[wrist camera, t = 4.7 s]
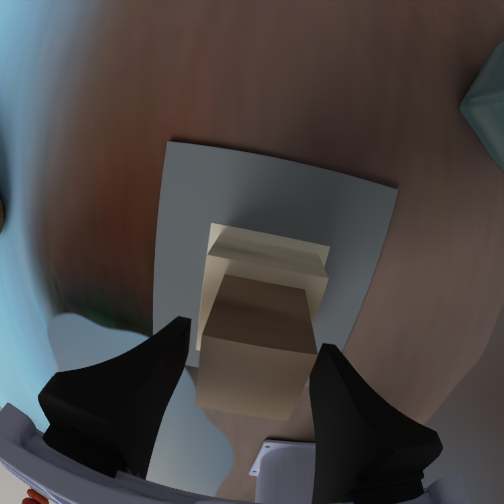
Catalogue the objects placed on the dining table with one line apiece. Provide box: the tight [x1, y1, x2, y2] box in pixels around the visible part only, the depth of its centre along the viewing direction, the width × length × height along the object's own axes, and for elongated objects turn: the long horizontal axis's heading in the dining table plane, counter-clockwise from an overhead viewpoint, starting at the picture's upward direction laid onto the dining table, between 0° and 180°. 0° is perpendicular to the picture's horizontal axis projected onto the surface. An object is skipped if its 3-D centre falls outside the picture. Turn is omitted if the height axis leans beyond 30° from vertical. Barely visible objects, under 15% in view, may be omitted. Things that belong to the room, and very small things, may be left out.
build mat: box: [153, 141, 398, 386], centre depth 18 cm, size 16×14×1 cm
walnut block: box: [195, 274, 318, 421], centre depth 12 cm, size 4×4×5 cm
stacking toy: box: [22, 487, 49, 504], centre depth 27 cm, size 8×8×19 cm
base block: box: [196, 234, 329, 351], centre depth 16 cm, size 6×6×4 cm
